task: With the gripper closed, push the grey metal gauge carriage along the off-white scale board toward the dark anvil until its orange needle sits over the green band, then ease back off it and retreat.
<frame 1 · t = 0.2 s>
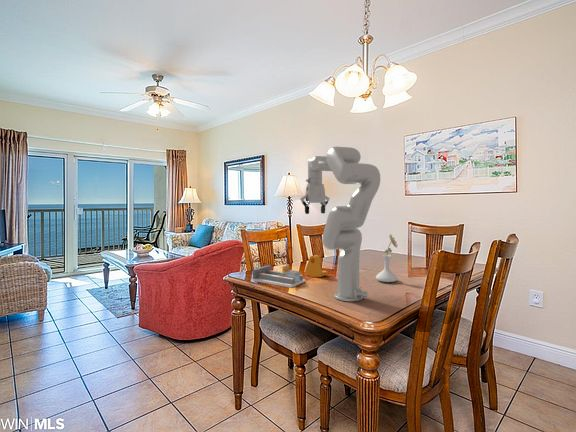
hand: (315, 213, 168), 36 cm above the table, tool pointing down, fingers open, 9 cm apart
gauge carriage: (291, 273, 164), point 5 cm above the table, slide at 0.0 cm
flower in vase: (387, 281, 168), on the table
scale board: (278, 281, 169), on the table
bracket: (316, 276, 181), on the table
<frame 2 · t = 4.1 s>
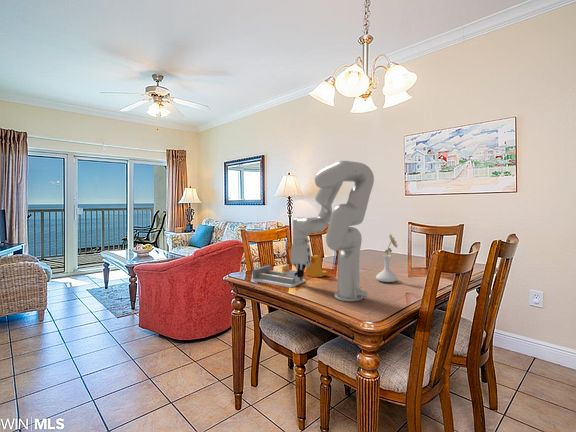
hand: (300, 276, 161), 4 cm above the table, tool pointing down, fingers closed
gauge carriage: (290, 273, 164), point 5 cm above the table, slide at 0.1 cm, touching gripper
everything else where it was.
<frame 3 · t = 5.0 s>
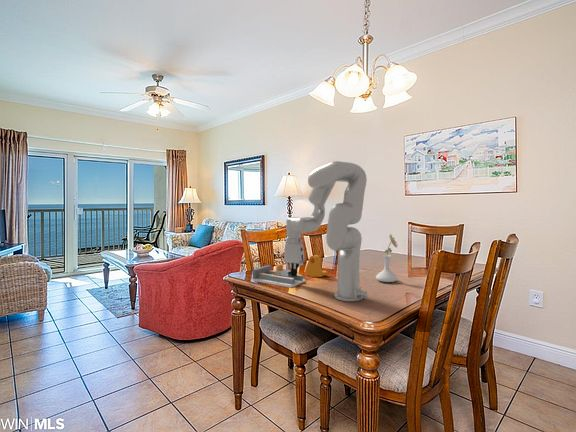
hand: (294, 275, 163), 4 cm above the table, tool pointing down, fingers closed
gauge carriage: (284, 272, 167), point 5 cm above the table, slide at 4.1 cm, touching gripper
everything else where it was.
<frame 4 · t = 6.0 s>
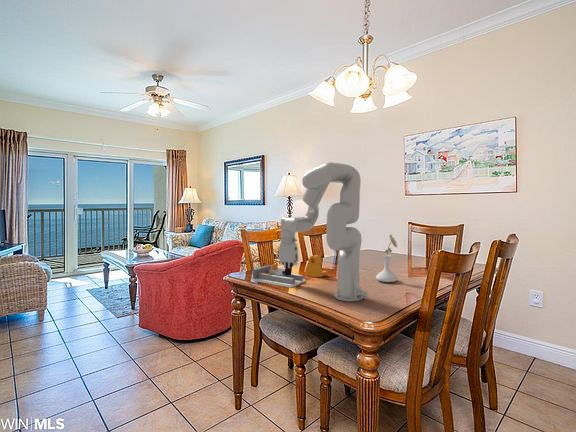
hand: (288, 274, 165), 4 cm above the table, tool pointing down, fingers closed
gauge carriage: (279, 271, 169), point 5 cm above the table, slide at 7.7 cm, touching gripper
everything else where it was.
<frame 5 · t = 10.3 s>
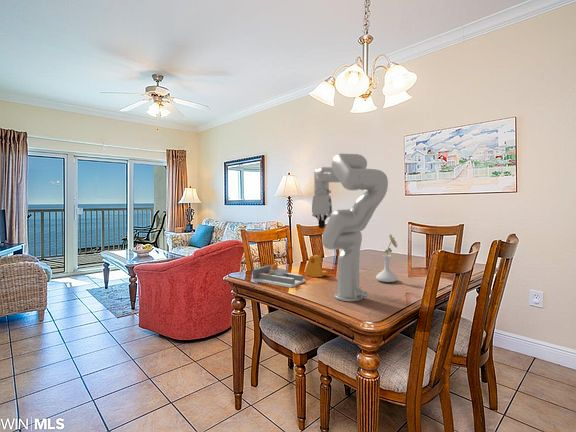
hand: (321, 227, 164), 29 cm above the table, tool pointing down, fingers closed
gauge carriage: (279, 271, 169), point 5 cm above the table, slide at 7.7 cm
everything else where it was.
at the end: gauge carriage slide at 7.7 cm; gauge carriage touching nothing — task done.
